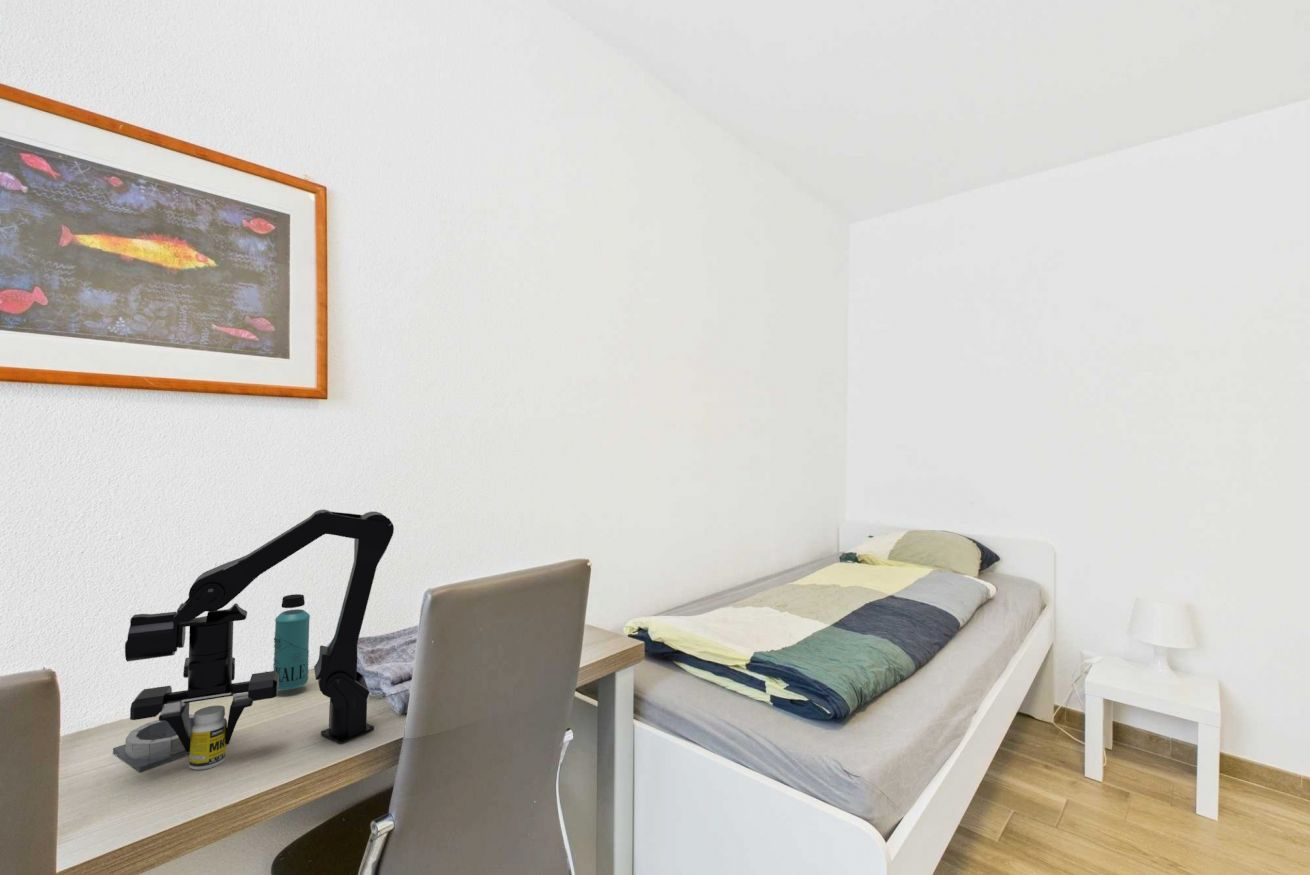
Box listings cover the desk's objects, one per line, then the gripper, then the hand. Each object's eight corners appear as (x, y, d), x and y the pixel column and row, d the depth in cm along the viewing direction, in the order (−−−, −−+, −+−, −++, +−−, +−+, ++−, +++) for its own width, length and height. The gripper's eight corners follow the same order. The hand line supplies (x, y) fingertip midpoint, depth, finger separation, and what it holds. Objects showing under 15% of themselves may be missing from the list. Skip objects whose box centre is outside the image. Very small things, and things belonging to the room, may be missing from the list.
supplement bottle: (211, 771, 93) (212, 717, 94) (181, 770, 93) (183, 716, 94) (233, 755, 98) (234, 704, 98) (204, 754, 98) (206, 703, 98)
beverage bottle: (294, 683, 128) (296, 590, 129) (316, 688, 126) (318, 593, 126) (264, 694, 122) (267, 597, 123) (286, 700, 120) (289, 600, 120)
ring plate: (220, 743, 102) (220, 723, 102) (139, 772, 93) (140, 751, 93) (191, 727, 108) (192, 708, 108) (113, 753, 98) (113, 732, 99)
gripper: (282, 628, 108) (280, 715, 107) (150, 643, 99) (147, 738, 98) (277, 647, 98) (275, 742, 98) (130, 665, 89) (127, 770, 89)
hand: (208, 747), depth 96 cm, fingers closed on supplement bottle, 5 cm apart
